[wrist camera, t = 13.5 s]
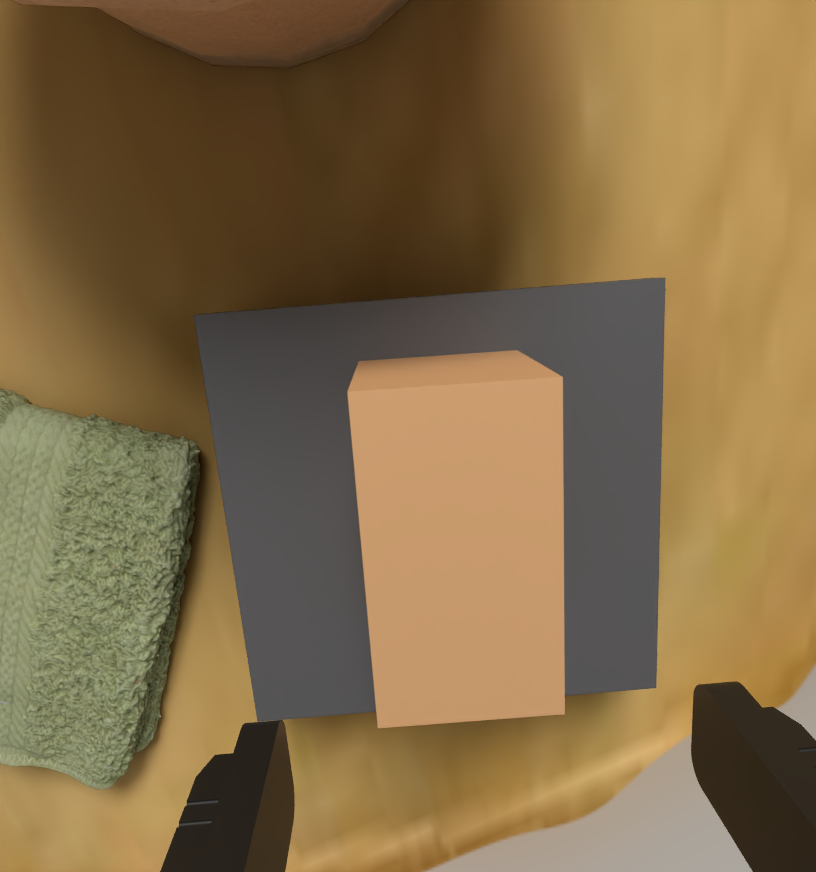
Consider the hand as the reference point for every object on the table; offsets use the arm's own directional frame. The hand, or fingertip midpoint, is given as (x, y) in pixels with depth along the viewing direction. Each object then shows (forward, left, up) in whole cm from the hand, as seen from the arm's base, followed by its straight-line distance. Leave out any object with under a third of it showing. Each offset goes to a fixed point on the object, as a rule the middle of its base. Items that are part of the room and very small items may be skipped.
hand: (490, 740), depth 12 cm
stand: (0, 0, -17) cm, 17 cm away
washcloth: (-18, -3, -17) cm, 25 cm away
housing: (0, +1, -12) cm, 12 cm away
